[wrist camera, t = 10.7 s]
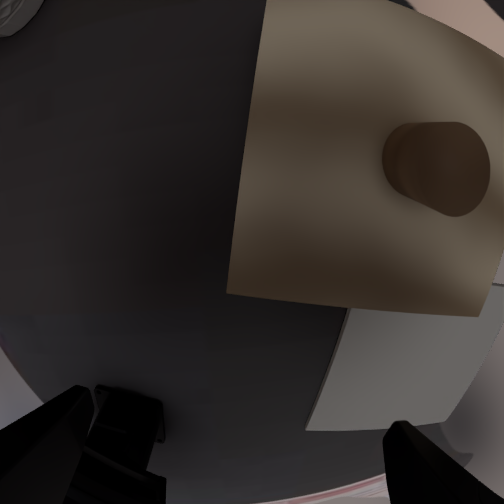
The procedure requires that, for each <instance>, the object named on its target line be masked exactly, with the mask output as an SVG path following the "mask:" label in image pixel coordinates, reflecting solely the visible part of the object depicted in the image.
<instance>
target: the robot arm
mask: <svg viewBox="0 0 504 504" xmlns="http://www.w3.org/2000/svg"><path fill="white" fill-rule="evenodd" d="M94 393H95V396H96V400H97V404H98V407H99V413H98V415H97V417H96V419H95V421H94V424H93V426H92V428H91V430H90V432H89V434H88V431H89V428H90V424H91V421H92V418H93V414H94V404H93V400H92V396H91V392H90V390H89V389H88V388H86V387H83V386H80V385H75V386H73V387H71V388H70V389H68V390H66V391H65V392H63V393H61V394H60V395H58V396H56V397H55V398H53V399H52V400H50V401H48V402H47V403H45V404H43V405H42V406H40V407H38V408H37V409H35V410H33V411H32V412H30V413H28V414H27V415H25V416H23V417H21V418H20V419H18V420H17V421H15V422H13V423H11V424H10V425H8V426H6V427H5V428H3V429H1V430H0V504H166V478H165V477H162V476H157V475H155V474H153V473H151V472H148V471H146V469H147V466H148V462H149V459H150V455H151V452H152V449H153V445H154V442H157V443H164V442H165V430H164V419H163V407H162V403H161V402H159V401H157V400H153V399H149V398H144V397H140V396H136V395H132V394H128V393H124V392H120V391H116V390H112V389H109V388H105V387H102V386H96V387H95V389H94ZM87 435H88V436H87ZM383 453H384V462H385V473H386V482H387V488H388V493H389V497H390V503H391V504H504V499H503V498H502V497H500V496H499V495H497V494H496V493H494V492H493V491H492V490H490V489H489V488H488V487H487V486H485V485H484V484H483V483H481V482H480V481H478V479H476V478H475V477H474V476H473V475H472V474H470V473H469V472H468V471H467V470H465V469H464V468H463V467H462V466H461V465H459V464H458V463H457V462H456V461H455V460H453V459H452V458H451V457H450V456H449V455H447V454H446V453H445V452H444V451H443V450H441V449H440V448H439V447H438V446H437V445H435V444H434V443H433V442H432V441H431V440H430V439H428V438H427V437H426V436H425V435H424V434H422V433H421V432H420V431H419V430H418V429H417V428H415V427H414V426H413V425H412V424H411V423H410V422H408V421H407V420H398V421H394V422H393V423H392V425H391V426H390V428H389V429H388V431H387V432H386V434H385V435H384V437H383Z"/></svg>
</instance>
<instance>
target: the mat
mask: <svg viewBox="0 0 504 504" xmlns="http://www.w3.org/2000/svg"><path fill="white" fill-rule="evenodd" d="M503 322H504V284H497V283H492V285H491V288H490V291H489V293H488V296H487V298H486V301H485V303H484V306H483V308H482V310H481V313H480V315H479V317H464V316H446V315H430V314H416V313H402V312H390V311H378V310H367V309H356V308H348V309H347V313H346V316H345V319H344V322H343V325H342V328H341V331H340V334H339V337H338V340H337V343H336V346H335V349H334V352H333V355H332V357H331V360H330V363H329V366H328V368H327V371H326V374H325V377H324V379H323V382H322V384H321V387H320V390H319V392H318V395H317V397H316V400H315V402H314V405H313V407H312V410H311V412H310V415H309V417H308V419H307V422H306V424H305V430H309V431H346V430H370V429H385V428H390V426H391V425H392V423H393V422H394V421H398V420H407V421H408V422H410V423H411V424H412V425H413V426H416V425H424V424H431V423H438V422H444V421H446V420H447V418H448V417H449V416H450V414H451V413H452V411H453V410H454V408H455V407H456V405H457V404H458V403H459V401H460V400H461V398H462V396H463V395H464V393H465V392H466V390H467V388H468V387H469V385H470V384H471V382H472V381H473V379H474V377H475V375H476V374H477V372H478V370H479V369H480V367H481V365H482V363H483V362H484V360H485V358H486V356H487V354H488V352H489V351H490V349H491V347H492V345H493V343H494V341H495V339H496V337H497V335H498V333H499V331H500V329H501V327H502V325H503Z"/></svg>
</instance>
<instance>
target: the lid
mask: <svg viewBox="0 0 504 504" xmlns="http://www.w3.org/2000/svg"><path fill="white" fill-rule="evenodd" d="M503 250H504V58H503V57H502V56H500V55H499V54H497V53H495V52H494V51H492V50H490V49H489V48H487V47H486V46H484V45H482V44H481V43H479V42H477V41H475V40H473V39H472V38H470V37H468V36H467V35H465V34H463V33H461V32H459V31H457V30H455V29H453V28H451V27H449V26H447V25H445V24H443V23H441V22H439V21H437V20H435V19H432V18H430V17H428V16H426V15H423V14H421V13H419V12H416V11H414V10H412V9H409V8H407V7H404V6H401V5H399V4H396V3H393V2H390V1H388V0H267V3H266V9H265V15H264V22H263V28H262V34H261V40H260V47H259V53H258V59H257V66H256V72H255V79H254V86H253V92H252V99H251V106H250V113H249V120H248V127H247V134H246V141H245V148H244V156H243V163H242V170H241V178H240V185H239V193H238V201H237V208H236V216H235V224H234V232H233V240H232V248H231V257H230V265H229V274H228V282H227V291H226V293H228V294H235V295H243V296H250V297H258V298H266V299H274V300H282V301H290V302H299V303H308V304H317V305H326V306H336V307H346V308H356V309H367V310H378V311H390V312H402V313H416V314H430V315H446V316H464V317H479V315H480V313H481V310H482V308H483V306H484V303H485V301H486V298H487V296H488V293H489V291H490V288H491V285H492V283H493V280H494V277H495V274H496V272H497V269H498V266H499V263H500V260H501V257H502V253H503Z"/></svg>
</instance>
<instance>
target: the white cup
mask: <svg viewBox="0 0 504 504" xmlns="http://www.w3.org/2000/svg"><path fill="white" fill-rule="evenodd" d="M43 1H44V0H0V37H6V36H11V35H13V34H14V33H16V32H17V31H19V30H20V29H22V28H23V27H24V26H25V25H26V24H27V23H28V22H29V21H30V20H31V18H32V17H33V16H34V15H35V14H36V13H37V11H38V10H39V8H40V6H41V5H42V3H43Z"/></svg>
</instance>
